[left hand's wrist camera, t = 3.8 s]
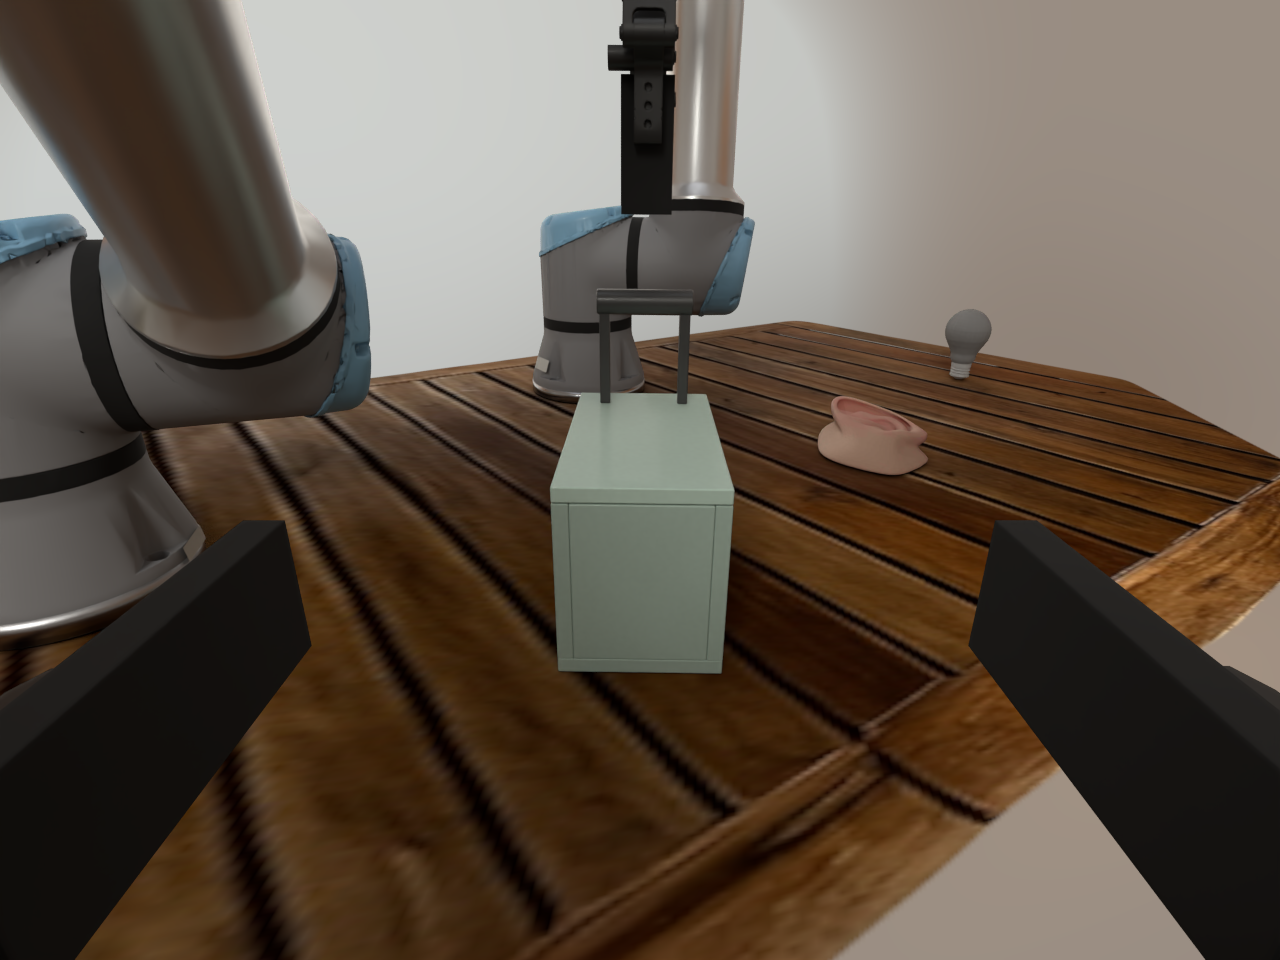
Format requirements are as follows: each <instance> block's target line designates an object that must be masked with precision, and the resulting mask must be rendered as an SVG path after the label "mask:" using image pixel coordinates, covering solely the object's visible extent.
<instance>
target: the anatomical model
mask: <svg viewBox="0 0 1280 960" xmlns="http://www.w3.org/2000/svg"><path fill="white" fill-rule="evenodd" d="M831 412H832V415H833V418H834V420H835V421H834V422H832V423H830V424H829V425H827V426H826V427H824V428H823V429H822V431H821V432H820V434H819V437H818V448H819V451H820V452H821V454H822V455H823V456H825V457H826V458H828V459H830V460H832V461H835V462H838V463H840V464H843V465H847V466H850V467H854V468H857V469H861V470H865V471H869V472H874V473H879V474H886V475H900V474H904V473H908V472H910V471H912V470H915V469H917V468H919V467H921V466H922V465H924V464H925V463H926V462H927V461H928V458H927V456H926V455H925V454H924V453H923V452H922V451H921V450H920V449H919V447H918V446H919V445H920V444H921V443H923V442H924V441H925V440H926V439H927V433H926V432H925V431H924V430H922V429H921V428H920V427H918V426H916V425H915V424H913V423H912V422H910V421H909V420H907V419H906V418H904V417H902V416H900V415H898V414H896V413H894V412H892V411H889V410H887V409H884V408H882V407H879V406H876V405H874V404H871V403H868V402H865V401H862V400H858V399H855V398H850V397H844V396H840V397H836V398H835V399H834V400H833V401H832V404H831Z"/></svg>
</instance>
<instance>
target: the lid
mask: <svg viewBox="0 0 1280 960" xmlns="http://www.w3.org/2000/svg"><path fill="white" fill-rule="evenodd" d="M693 307H694V292H693V290H673V289H597V292H596V310H597V314H599V344H600V393H581V396H580V399H579V402H578V405H577V408H576V411H575V414H574V417H573V420H572V423H571V426H570V429H569V432H568V435H567V438H566V441H565V444H564V447H563V450H562V453H561V456H560V459H559V462H558V466H557V469H556V472H555V475H554V478H553V481H552V484H551V487H550V498H551V502H552V503H623V504H697V505H733V503H734V487H733V484H732V481H731V477H730V474H729V470H728V467H727V464H726V460H725V457H724V453H723V450H722V447H721V443H720V440H719V436H718V433H717V429H716V426H715V423H714V419H713V416H712V412H711V409H710V406H709V402H708V399H707V395H706V394H687V390H688V365H689V339H690V315H692V314H693ZM610 314H612V315H680V317H679V347H678V378H677V394H653V393H611V385H610Z"/></svg>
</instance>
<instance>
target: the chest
mask: <svg viewBox="0 0 1280 960" xmlns="http://www.w3.org/2000/svg"><path fill="white" fill-rule="evenodd" d="M732 520H733V505H697V504H623V503H552V502H551V522H552V544H553V565H554V587H555V609H556V631H557V653H558V671H586V672H654V673H722V660H723V646H724V632H725V618H726V604H727V590H728V576H729V562H730V548H731V534H732Z"/></svg>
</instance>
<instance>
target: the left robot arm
mask: <svg viewBox="0 0 1280 960" xmlns="http://www.w3.org/2000/svg"><path fill="white" fill-rule="evenodd" d="M0 84H1V85H2V87H3V88H4V90H5V91H6V93H7V94H8V96H9V97H10V99H11V100H12V102H13V103H14V105H15V106H16V107H17V109H18V110H19V112H20V113H21V115H22V116H23V118H24V119H25V121H26V122H27V124H28V125H29V127H30V128H31V130H32V131H33V132H34V134H35V135H36V137H37V138H38V140H39V141H40V143H41V144H42V146H43V147H44V149H45V150H46V151H47V153H48V154H49V156H50V157H51V159H52V160H53V162H54V163H55V165H56V166H57V168H58V169H59V171H60V172H61V174H62V175H63V177H64V178H65V179H66V181H67V182H68V184H69V185H70V187H71V188H72V190H73V191H74V193H75V194H76V196H77V197H78V199H79V200H80V201H81V203H82V204H83V206H84V207H85V209H86V210H87V212H88V213H89V215H90V216H91V218H92V219H93V221H94V222H95V223H96V225H97V226H98V228H99V229H100V231H101V232H102V234H103V235H104V238H103V240H86V237H87V233H86V229H85V228H83V227H82V226H81V225H80V224H79V221H78V220H77V219H76V218H75V217H74V216H72V215H70V214H56V215H47V216H37V217H28V218H20V219H11V220H4V221H0V651H2V650H12V649H20V648H27V647H33V646H38V645H43V644H48V643H53V642H57V641H61V640H65V639H69V638H73V637H77V636H80V635H84V634H87V633H90V632H93V631H96V630H99V629H102V628H105V627H106V628H105V629H104V630H102V631H101V632H100V633H99V634H97V635H96V636H95V637H94V638H92V639H91V640H90V641H88V642H87V643H86V644H85V645H83V646H82V647H81V648H79V649H78V650H77V651H76V652H74V653H73V654H72V655H70V656H69V657H68V658H67V659H65V660H64V661H63V662H62V663H60V664H59V665H58V666H56V667H55V668H54V669H49V670H48V671H46V672H44V673H42V674H40V675H38V676H36V677H34V678H32V679H30V680H28V681H26V682H25V683H23V684H21V685H19V686H17V687H15V688H13V689H11V690H9V691H7V692H5V693H4V694H3V695H1V696H0V960H75V958H76V957H77V956H78V954H79V953H80V952H81V950H82V949H83V948H84V946H85V945H86V944H87V942H88V941H89V940H90V939H91V937H92V936H93V935H94V933H95V932H96V931H97V929H98V928H99V927H100V925H101V924H102V923H103V921H104V920H105V919H106V917H107V916H108V915H109V913H110V912H111V911H112V909H113V908H114V907H115V905H116V904H117V903H118V901H119V900H120V899H121V897H122V896H123V895H124V893H125V892H126V891H127V889H128V888H129V887H130V886H131V884H132V883H133V882H134V880H135V879H136V878H137V876H138V875H139V874H140V872H141V871H142V870H143V868H144V867H145V866H146V864H147V863H148V862H149V860H150V859H151V858H152V856H153V855H154V854H155V852H156V851H157V850H158V848H159V847H160V846H161V844H162V843H163V842H164V840H165V839H166V838H167V836H168V835H169V834H170V833H171V831H172V830H173V829H174V827H175V826H176V825H177V823H178V822H179V821H180V819H181V818H182V817H183V815H184V814H185V813H186V811H187V810H188V809H189V807H190V806H191V805H192V803H193V802H194V801H195V799H196V798H197V797H198V795H199V794H200V793H201V791H202V790H203V789H204V787H205V786H206V785H207V783H208V782H209V781H210V780H211V778H212V777H213V776H214V774H215V773H216V772H217V770H218V769H219V768H220V766H221V765H222V764H223V762H224V761H225V760H226V758H227V757H228V756H229V754H230V753H231V752H232V750H233V749H234V748H235V746H236V745H237V744H238V742H239V741H240V740H241V738H242V737H243V736H244V734H245V733H246V732H247V730H248V729H249V728H250V726H251V725H252V724H253V723H254V721H255V720H256V719H257V717H258V716H259V715H260V713H261V712H262V711H263V709H264V708H265V707H266V705H267V704H268V703H269V701H270V700H271V699H272V697H273V696H274V695H275V693H276V692H277V691H278V689H279V688H280V687H281V685H282V684H283V683H284V681H285V680H286V679H287V677H288V676H289V675H290V673H291V672H292V671H293V670H294V668H295V667H296V666H297V664H298V663H299V662H300V660H301V659H302V658H303V656H304V655H305V654H306V652H307V651H308V650H309V648H310V647H311V641H310V636H309V632H308V627H307V622H306V618H305V613H304V608H303V604H302V599H301V594H300V590H299V585H298V580H297V576H296V571H295V566H294V562H293V557H292V552H291V548H290V543H289V538H288V534H287V529H286V524H285V521H242V522H241V523H239V524H238V525H237V526H236V527H234V528H233V529H232V530H230V531H229V532H228V533H227V534H225V535H224V536H223V537H221V538H220V539H219V540H218V541H216V542H215V543H214V544H213V545H211V546H210V547H209V548H207V549H206V545H205V541H204V540H205V539H206V537H205V535H204V533H203V531H202V529H201V527H200V525H198V524H197V522H196V520H195V519H194V518H193V517H192V515H191V514H190V513H189V511H188V510H187V509H186V507H185V506H184V505H183V503H182V502H181V501H180V499H179V498H178V497H177V495H176V494H175V493H174V492H173V490H172V489H171V488H170V486H169V485H168V484H167V482H166V481H165V480H164V478H163V477H162V476H161V474H160V473H159V472H158V471H157V469H156V468H155V467H154V465H153V464H152V463H151V461H150V459H149V456H148V453H147V450H146V447H145V444H144V440H143V437H142V433H141V431H147V430H159V429H165V428H176V427H187V426H198V425H208V424H219V423H230V422H241V421H252V420H263V419H274V418H284V417H295V416H305V417H309V418H315V417H318V416H321V415H323V414H325V413H330V412H337V411H344V410H350V409H353V408H355V407H357V406H358V405H360V404H361V403H362V402H363V401H364V399H365V398H366V396H367V393H368V390H369V385H370V376H371V352H370V346H369V342H370V320H369V309H368V299H367V290H366V283H365V277H364V271H363V266H362V262H361V258H360V254H359V252H358V250H357V247H356V246H355V245H354V244H353V243H352V242H351V241H350V240H349V239H347V238H344V237H335V236H334V235H332V234H327V233H326V231H325V229H324V228H323V226H322V225H321V224H320V222H319V221H318V219H317V218H316V217H315V216H314V215H313V214H312V213H311V212H310V211H309V210H308V209H306V208H305V207H304V206H303V205H302V204H300V203H299V202H298V201H296V200H295V199H293V198H292V194H291V190H290V186H289V182H288V179H287V175H286V171H285V167H284V163H283V159H282V155H281V151H280V148H279V144H278V140H277V136H276V132H275V128H274V124H273V121H272V117H271V113H270V109H269V105H268V101H267V97H266V93H265V89H264V86H263V82H262V78H261V74H260V70H259V66H258V62H257V58H256V54H255V51H254V47H253V43H252V39H251V35H250V31H249V27H248V23H247V20H246V16H245V12H244V8H243V4H242V1H241V0H0ZM969 647H970V648H971V650H972V651H973V652H974V654H975V655H976V656H977V658H978V659H979V660H980V662H981V663H982V664H983V666H984V667H985V668H986V670H987V671H988V672H989V673H990V675H991V676H992V677H993V679H994V680H995V681H996V683H997V684H998V685H999V687H1000V688H1001V689H1002V691H1003V692H1004V693H1005V695H1006V696H1007V697H1008V699H1009V700H1010V701H1011V703H1012V704H1013V705H1014V707H1015V708H1016V709H1017V711H1018V712H1019V713H1020V715H1021V716H1022V717H1023V719H1024V720H1025V721H1026V723H1027V724H1028V725H1029V726H1030V728H1031V729H1032V730H1033V732H1034V733H1035V734H1036V736H1037V737H1038V738H1039V740H1040V741H1041V742H1042V744H1043V745H1044V746H1045V748H1046V749H1047V750H1048V752H1049V753H1050V754H1051V756H1052V757H1053V758H1054V760H1055V761H1056V762H1057V764H1058V765H1059V766H1060V768H1061V769H1062V770H1063V772H1064V773H1065V774H1066V775H1067V777H1068V778H1069V780H1070V781H1071V782H1072V783H1073V785H1074V786H1075V787H1076V789H1077V790H1078V791H1079V793H1080V794H1081V795H1082V797H1083V798H1084V799H1085V801H1086V802H1087V803H1088V805H1089V806H1090V807H1091V809H1092V810H1093V811H1094V813H1095V814H1096V815H1097V817H1098V818H1099V819H1100V820H1101V822H1102V823H1103V824H1104V826H1105V827H1106V828H1107V830H1108V831H1109V833H1110V834H1111V835H1112V836H1113V838H1114V839H1115V840H1116V842H1117V843H1118V844H1119V846H1120V847H1121V848H1122V850H1123V851H1124V852H1125V854H1126V855H1127V856H1128V858H1129V859H1130V860H1131V862H1132V863H1133V864H1134V866H1135V867H1136V868H1137V870H1138V871H1139V872H1140V874H1141V875H1142V876H1143V878H1144V879H1145V880H1146V882H1147V883H1148V884H1149V885H1150V887H1151V888H1152V889H1153V891H1154V892H1155V893H1156V895H1157V896H1158V897H1159V899H1160V900H1161V901H1162V903H1163V904H1164V905H1165V907H1166V908H1167V909H1168V911H1169V912H1170V913H1171V915H1172V916H1173V917H1174V919H1175V920H1176V921H1177V923H1178V924H1179V925H1180V927H1181V928H1182V929H1183V931H1184V932H1185V933H1186V935H1187V936H1188V937H1189V938H1190V940H1191V941H1192V942H1193V944H1194V945H1195V946H1196V948H1197V949H1198V950H1199V952H1200V953H1201V954H1202V956H1203V957H1204V958H1205V960H1280V693H1279V692H1278V691H1276V690H1275V689H1273V688H1271V687H1269V686H1267V685H1265V684H1263V683H1261V682H1259V681H1257V680H1255V679H1253V678H1252V677H1250V676H1248V675H1246V674H1244V673H1242V672H1240V671H1238V670H1236V669H1234V668H1232V667H1230V666H1222V665H1221V664H1220V663H1218V662H1217V661H1216V660H1215V659H1213V658H1212V657H1211V656H1209V655H1208V654H1207V653H1206V652H1204V651H1203V650H1202V649H1201V648H1199V647H1198V646H1197V645H1195V644H1194V643H1193V642H1192V641H1190V640H1189V639H1188V638H1186V637H1185V636H1184V635H1183V634H1181V633H1180V632H1179V631H1178V630H1176V629H1175V628H1174V627H1172V626H1171V625H1170V624H1169V623H1167V622H1166V621H1165V620H1163V619H1162V618H1161V617H1160V616H1158V615H1157V614H1156V613H1154V612H1153V611H1152V610H1151V609H1149V608H1148V607H1147V606H1146V605H1144V604H1143V603H1142V602H1140V601H1139V600H1138V599H1137V598H1135V597H1134V596H1133V595H1131V594H1130V593H1129V592H1128V591H1126V590H1125V589H1124V588H1123V587H1121V586H1120V585H1119V584H1117V583H1116V582H1115V581H1114V580H1112V579H1111V578H1110V577H1108V576H1107V575H1106V574H1105V573H1103V572H1102V571H1101V570H1099V569H1098V568H1097V567H1096V566H1094V565H1093V564H1092V563H1091V562H1089V561H1088V560H1087V559H1085V558H1084V557H1083V556H1082V555H1080V554H1079V553H1078V552H1076V551H1075V550H1074V549H1073V548H1071V547H1070V546H1069V545H1067V544H1066V543H1065V542H1064V541H1062V540H1061V539H1060V538H1059V537H1057V536H1056V535H1055V534H1053V533H1052V532H1051V531H1050V530H1048V529H1047V528H1046V527H1044V526H1043V525H1042V524H1041V523H1039V522H1038V521H995V524H994V529H993V534H992V538H991V543H990V548H989V552H988V557H987V562H986V566H985V571H984V576H983V580H982V585H981V590H980V594H979V599H978V604H977V608H976V613H975V618H974V622H973V627H972V632H971V636H970V641H969Z"/></svg>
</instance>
